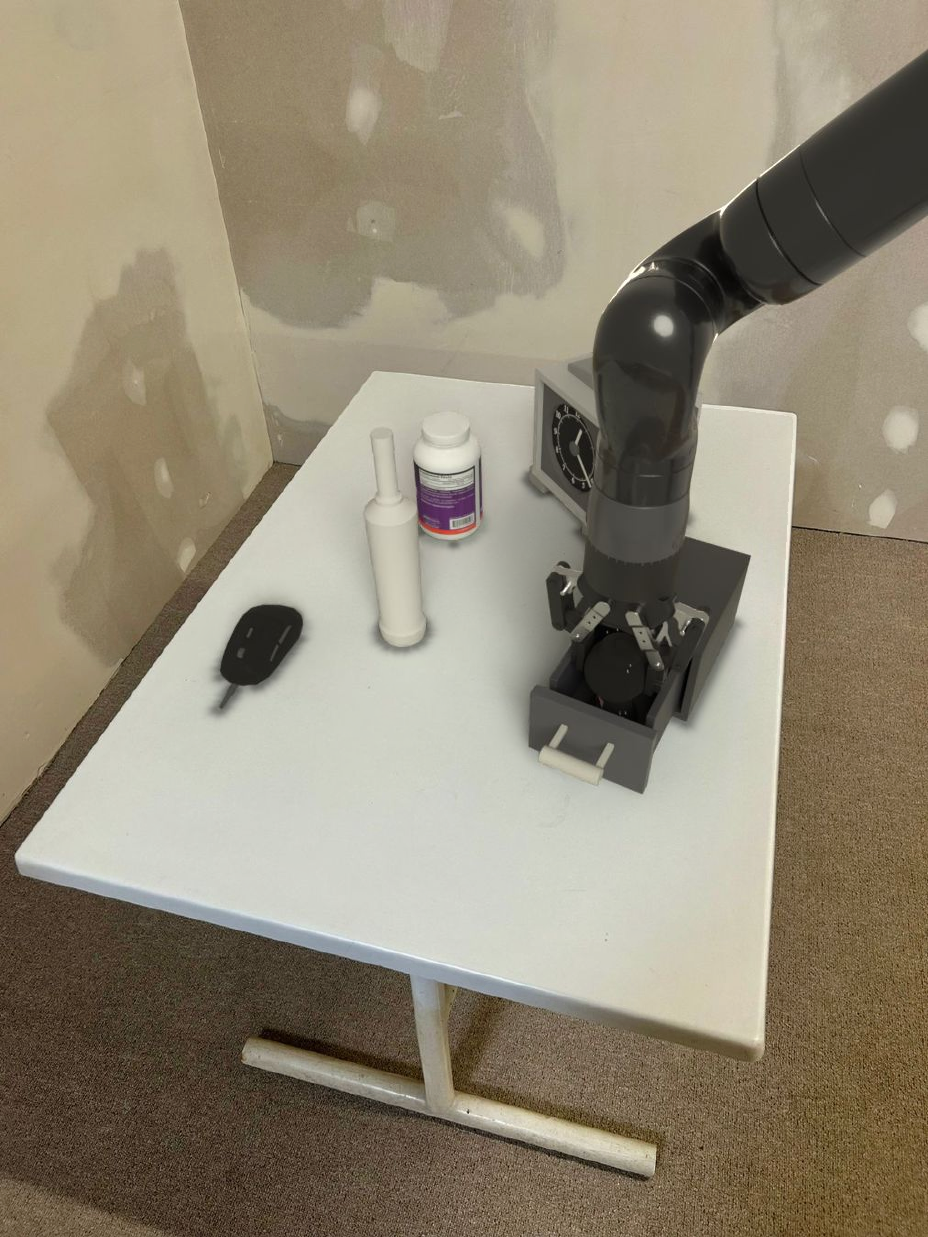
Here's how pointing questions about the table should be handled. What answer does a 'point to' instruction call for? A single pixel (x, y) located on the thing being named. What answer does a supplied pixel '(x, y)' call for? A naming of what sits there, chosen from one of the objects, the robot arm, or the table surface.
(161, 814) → the table surface
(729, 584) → the grey drawer cabinet
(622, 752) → the open grey drawer
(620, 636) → the gumball machine
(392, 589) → the bottle
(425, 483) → the pill bottle
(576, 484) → the alarm clock
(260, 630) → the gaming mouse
